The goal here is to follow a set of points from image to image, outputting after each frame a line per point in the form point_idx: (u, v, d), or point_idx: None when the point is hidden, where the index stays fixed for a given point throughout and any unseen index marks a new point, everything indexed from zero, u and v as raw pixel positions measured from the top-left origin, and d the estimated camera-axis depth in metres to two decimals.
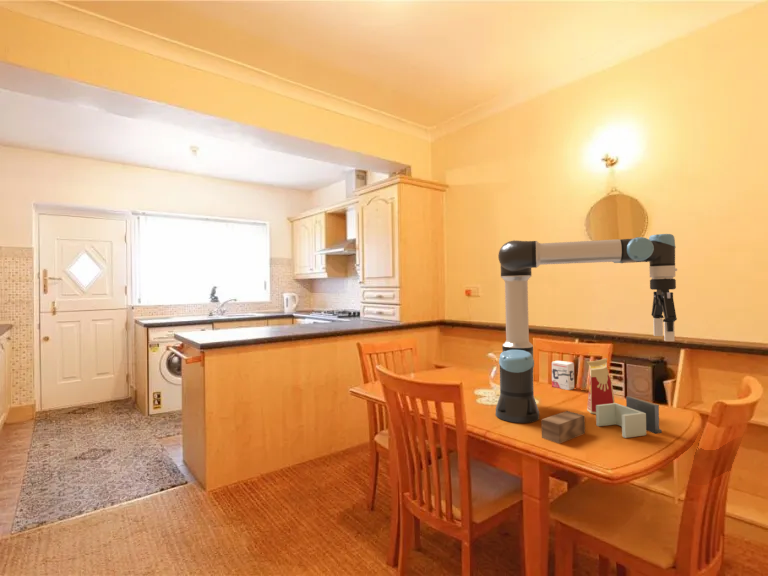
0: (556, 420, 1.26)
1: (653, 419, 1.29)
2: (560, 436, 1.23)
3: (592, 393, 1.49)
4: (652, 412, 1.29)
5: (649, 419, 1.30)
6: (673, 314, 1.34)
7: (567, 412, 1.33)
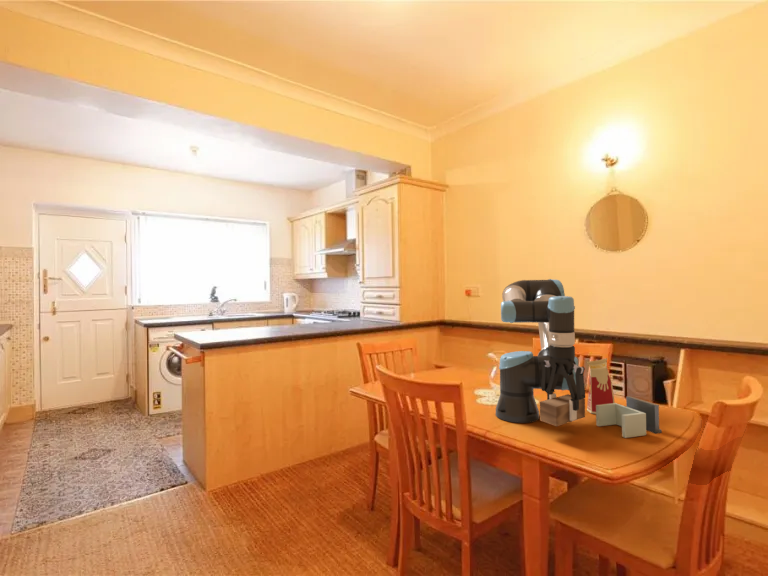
0: (554, 403, 1.27)
1: (653, 419, 1.29)
2: (557, 418, 1.23)
3: (592, 393, 1.49)
4: (652, 412, 1.29)
5: (649, 419, 1.30)
6: None
7: (568, 395, 1.34)
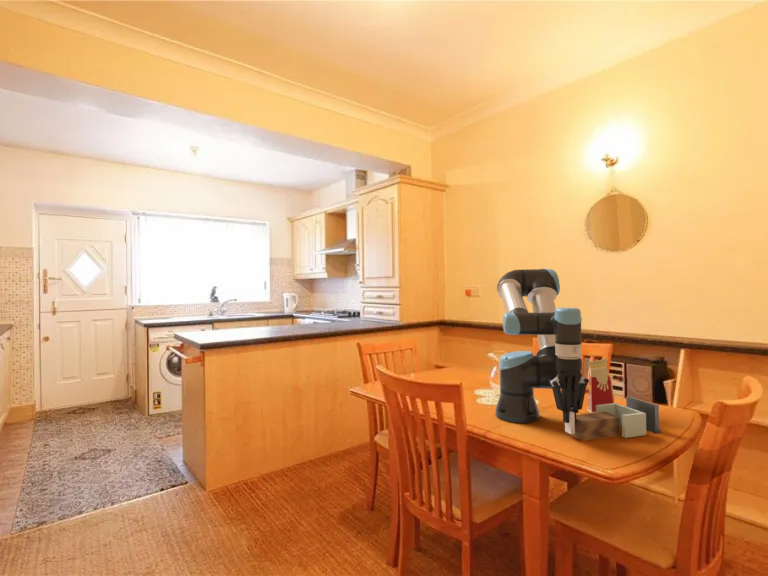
0: (582, 418, 1.28)
1: (653, 419, 1.29)
2: (583, 434, 1.25)
3: (592, 393, 1.49)
4: (652, 412, 1.29)
5: (649, 419, 1.30)
6: (559, 405, 1.25)
7: (603, 413, 1.32)
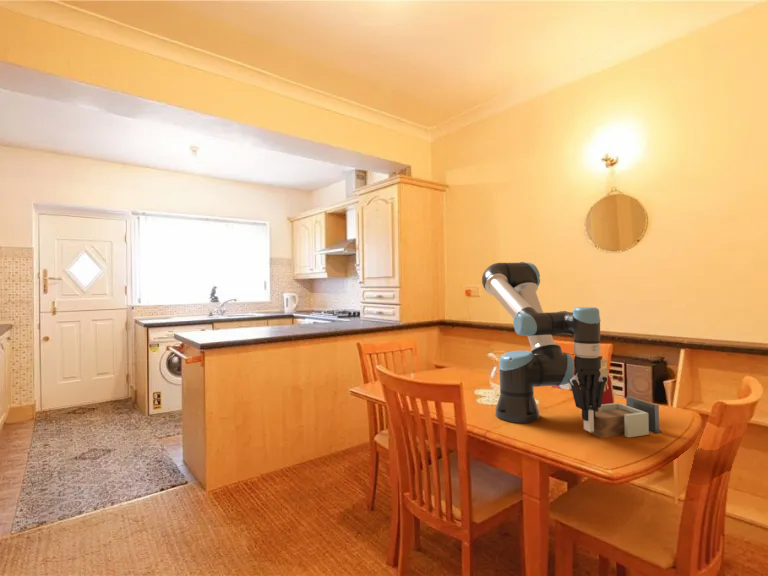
0: (601, 415, 1.29)
1: (653, 419, 1.29)
2: (602, 430, 1.26)
3: None
4: (652, 412, 1.29)
5: (649, 419, 1.30)
6: (578, 403, 1.27)
7: (621, 410, 1.34)
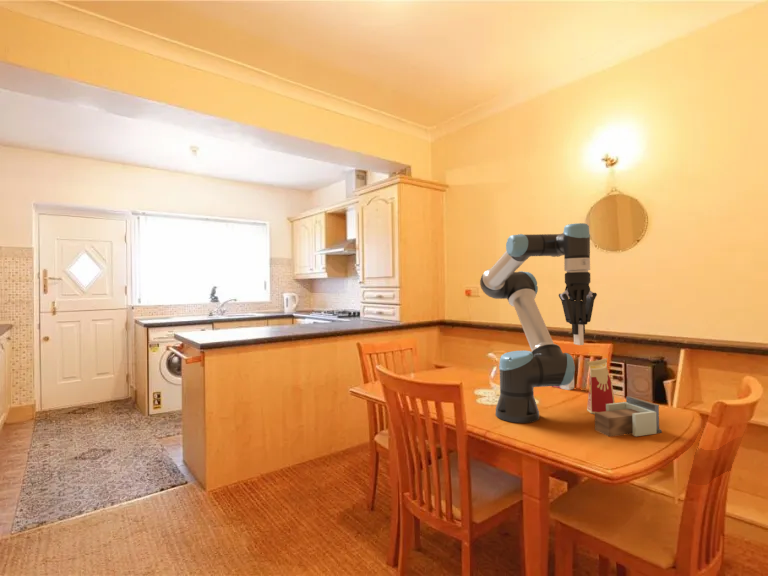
0: (609, 414, 1.30)
1: None
2: (610, 430, 1.27)
3: (592, 393, 1.49)
4: None
5: None
6: (568, 317, 1.30)
7: (629, 409, 1.35)
